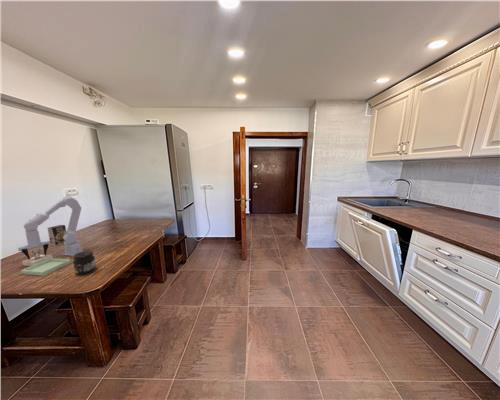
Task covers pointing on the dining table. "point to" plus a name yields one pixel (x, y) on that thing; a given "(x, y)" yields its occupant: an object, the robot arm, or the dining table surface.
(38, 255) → the steel pin
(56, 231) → the coffee box
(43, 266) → the tray
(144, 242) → the dining table surface
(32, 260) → the socket block
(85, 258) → the supplement container
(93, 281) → the dining table surface
